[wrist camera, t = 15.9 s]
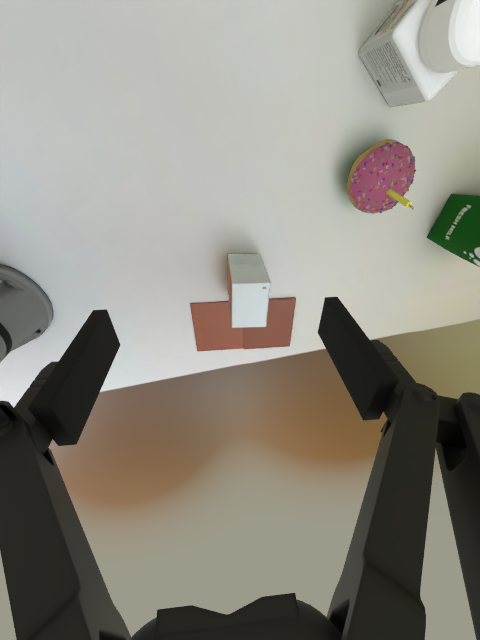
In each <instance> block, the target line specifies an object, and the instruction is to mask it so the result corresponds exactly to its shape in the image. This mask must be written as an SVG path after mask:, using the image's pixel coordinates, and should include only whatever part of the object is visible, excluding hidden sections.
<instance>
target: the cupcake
mask: <svg viewBox="0 0 480 640" xmlns="http://www.w3.org/2000/svg"><path fill="white" fill-rule="evenodd" d="M413 157H414V156H413V155H412V152H411V150H410V149H409V148H408V146H405V145H403V144H401V143H399V142H397V141H394V140H383V141H380V142H378V143H376V144H375V145H373V146H371V147H370V148H369V149H368V150H367V151H365V152H364V153H363V154H361V155H360V156H358V158H357V159H356V161H355V162H354V164H353V166H352V168H351V171H350V174H349V178H348V182H347V187H346V192H347V195H348V197H349V199H350V201H351V202H352V204H353V205H354V206H355V207H356V208H357V209H359V210H361V211H363V212H366V213H372V214H373V213H378V212H380V213H381V212H383V211H385V210H386V211H387V210H389V209H392V208H393V206H395V205H396V204H397V203H398V202H400V203H401V204H403V205H404V206H406V207H410V208H412V209H414V207H413V206H411V205H412V202H410V201H409V200H407V199H406V198H404V197H403V196H404V194H405V193H406V191H408V190H409V187H410V184H412V183H411V182H412V181H413V178H414V173H415V171H416V170H415V163H414V162H415V159H414V158H415V157H414V158H413ZM391 207H392V208H391Z"/></svg>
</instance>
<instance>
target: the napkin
mask: <svg viewBox="0 0 480 640" xmlns="http://www.w3.org/2000/svg"><path fill="white" fill-rule="evenodd" d="M295 302H296V298H279V299H269V302H268V311H267V325H266V327H243V328H232V327H231V318H230V306H229V301H225V302H208V303H190V306H191V312H192V319H193V325H194V332H195V338H196V345H197V351H211V350H226V349H241V348H244V349H255V348H270V347H285V346H290V340H291V332H292V325H293V317H294V309H295Z"/></svg>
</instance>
